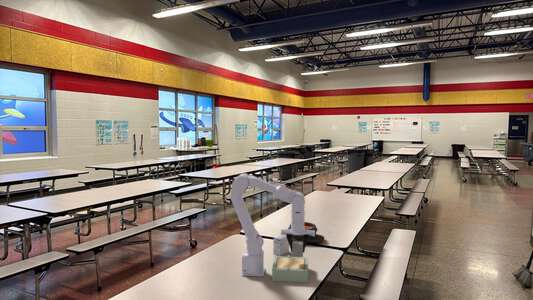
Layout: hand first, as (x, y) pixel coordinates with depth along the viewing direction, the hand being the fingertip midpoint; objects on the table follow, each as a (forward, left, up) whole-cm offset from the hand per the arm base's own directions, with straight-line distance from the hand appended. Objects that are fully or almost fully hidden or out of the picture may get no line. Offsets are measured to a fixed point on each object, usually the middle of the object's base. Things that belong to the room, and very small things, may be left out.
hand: (297, 251), depth 141 cm
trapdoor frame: (-3, 0, -10) cm, 11 cm away
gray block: (0, 0, -1) cm, 1 cm away
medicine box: (-9, +24, -11) cm, 28 cm away
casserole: (+2, +46, -11) cm, 47 cm away
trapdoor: (-3, 0, -8) cm, 8 cm away
